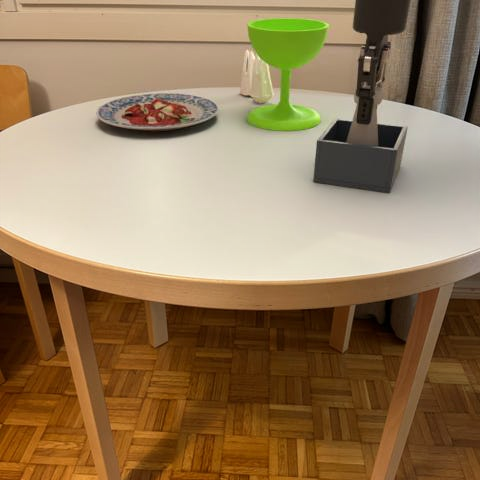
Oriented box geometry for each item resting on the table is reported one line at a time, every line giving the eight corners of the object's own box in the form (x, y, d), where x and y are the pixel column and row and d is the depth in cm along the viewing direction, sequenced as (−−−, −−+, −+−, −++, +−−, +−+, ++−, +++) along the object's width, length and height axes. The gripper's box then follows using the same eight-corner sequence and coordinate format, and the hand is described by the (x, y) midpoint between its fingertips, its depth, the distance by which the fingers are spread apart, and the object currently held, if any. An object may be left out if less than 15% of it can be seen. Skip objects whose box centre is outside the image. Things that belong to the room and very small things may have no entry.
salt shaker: (376, 164, 91) (388, 83, 83) (376, 176, 86) (390, 92, 78) (341, 161, 92) (350, 81, 84) (340, 174, 87) (350, 91, 79)
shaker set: (274, 104, 123) (276, 52, 116) (258, 106, 122) (259, 53, 115) (254, 92, 132) (255, 42, 125) (238, 93, 131) (238, 43, 124)
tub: (400, 165, 92) (407, 126, 88) (389, 193, 83) (397, 150, 79) (330, 156, 96) (334, 118, 92) (313, 182, 87) (316, 140, 82)
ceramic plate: (75, 118, 114) (72, 104, 113) (171, 97, 128) (170, 84, 126) (142, 148, 99) (140, 132, 97) (243, 120, 113) (243, 106, 111)
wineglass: (332, 115, 116) (342, 22, 105) (301, 135, 105) (307, 34, 94) (268, 104, 123) (271, 16, 112) (232, 122, 112) (231, 26, 101)
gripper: (404, 0, 67) (382, 135, 78) (417, -11, 78) (396, 109, 88) (346, -3, 69) (332, 129, 80) (366, -13, 80) (351, 105, 90)
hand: (366, 118), depth 84 cm, fingers closed on salt shaker, 4 cm apart
